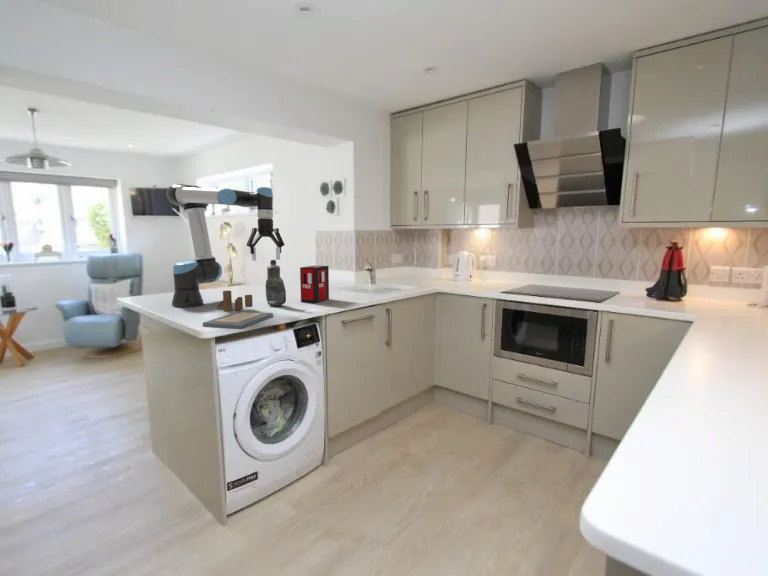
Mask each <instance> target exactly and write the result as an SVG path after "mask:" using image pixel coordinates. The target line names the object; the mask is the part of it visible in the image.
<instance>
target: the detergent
mask: <svg viewBox="0 0 768 576" xmlns="http://www.w3.org/2000/svg"><path fill="white" fill-rule="evenodd" d="M276 260H277V259H270V263H269V264H270V265H269V266H267V267H266V272H267V274H266V276H267V279H266V281H265V296H266V302H267V305H269V306H278V307H280V306H282V305H284V304H286V302H287V297H286V296H287V291H286V286H285V283H284V279H282V277H281V275H280V274H281V267H280V265H277V261H276Z"/></svg>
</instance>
